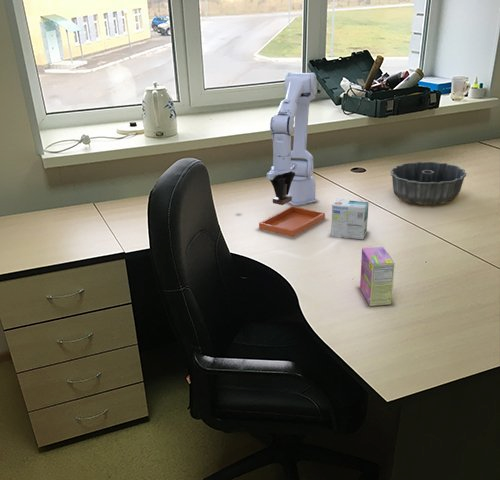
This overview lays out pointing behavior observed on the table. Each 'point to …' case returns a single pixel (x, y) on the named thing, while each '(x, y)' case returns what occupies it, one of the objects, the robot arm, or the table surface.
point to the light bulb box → (349, 218)
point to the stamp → (283, 197)
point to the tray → (292, 221)
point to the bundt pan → (427, 182)
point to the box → (376, 276)
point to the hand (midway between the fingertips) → (282, 195)
